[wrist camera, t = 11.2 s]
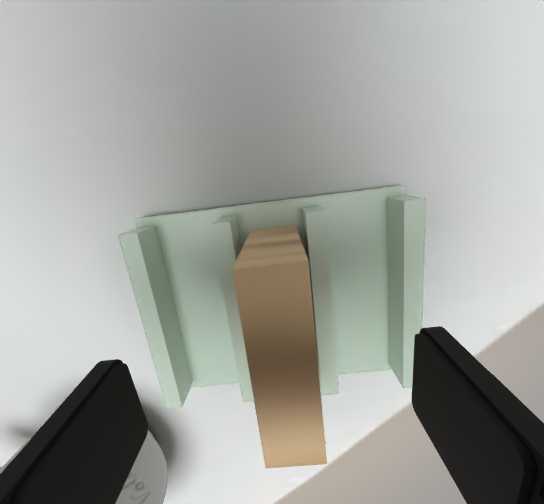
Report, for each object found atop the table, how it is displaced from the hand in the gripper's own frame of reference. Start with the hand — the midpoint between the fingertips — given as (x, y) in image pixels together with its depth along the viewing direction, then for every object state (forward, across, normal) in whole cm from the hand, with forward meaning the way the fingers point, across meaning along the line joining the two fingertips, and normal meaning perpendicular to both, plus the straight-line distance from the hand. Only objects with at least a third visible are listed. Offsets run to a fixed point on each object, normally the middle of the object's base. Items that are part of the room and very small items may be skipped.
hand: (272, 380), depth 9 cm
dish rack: (+9, 0, +2) cm, 9 cm away
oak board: (+8, 0, +1) cm, 8 cm away
